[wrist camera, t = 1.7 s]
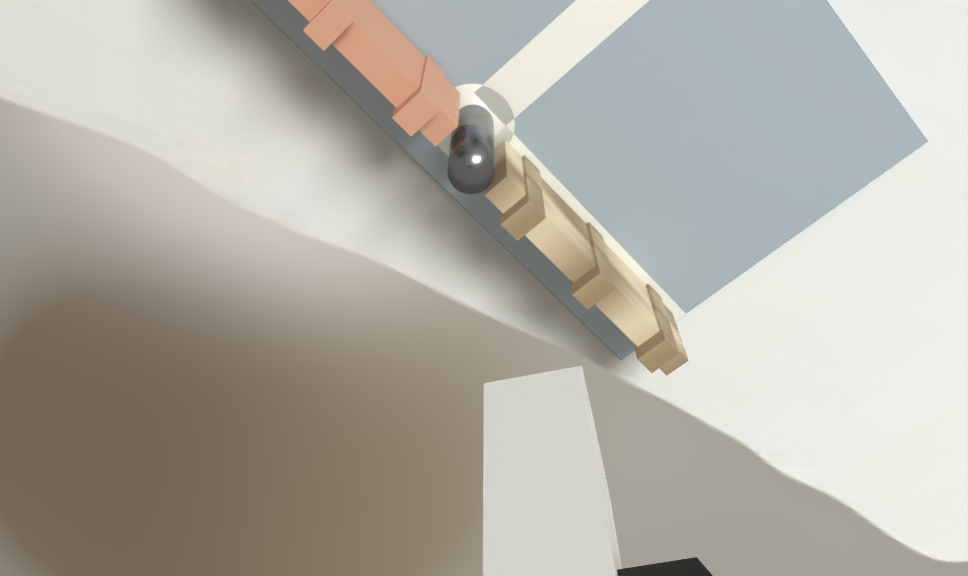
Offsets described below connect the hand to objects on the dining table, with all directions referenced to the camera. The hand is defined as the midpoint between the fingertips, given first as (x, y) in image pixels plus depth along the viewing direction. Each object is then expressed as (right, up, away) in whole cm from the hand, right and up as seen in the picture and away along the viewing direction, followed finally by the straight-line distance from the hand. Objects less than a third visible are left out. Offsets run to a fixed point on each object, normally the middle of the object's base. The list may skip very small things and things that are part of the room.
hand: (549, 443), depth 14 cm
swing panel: (-7, +14, +22) cm, 27 cm away
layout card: (+2, +13, +23) cm, 27 cm away
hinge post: (-2, +10, +25) cm, 27 cm away
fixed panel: (+4, +5, +27) cm, 28 cm away
